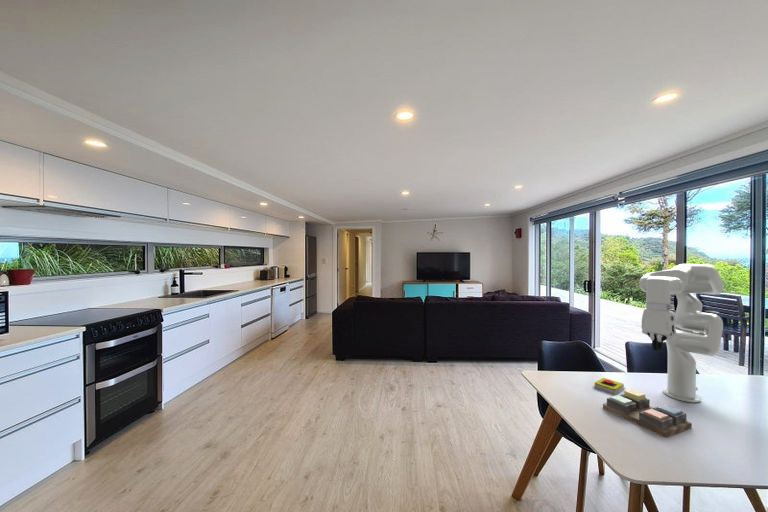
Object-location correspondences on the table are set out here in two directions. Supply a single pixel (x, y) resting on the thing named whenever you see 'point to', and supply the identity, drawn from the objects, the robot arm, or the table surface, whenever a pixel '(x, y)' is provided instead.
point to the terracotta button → (656, 414)
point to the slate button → (670, 410)
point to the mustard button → (634, 395)
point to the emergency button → (609, 386)
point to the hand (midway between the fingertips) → (657, 350)
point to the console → (648, 417)
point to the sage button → (621, 400)
